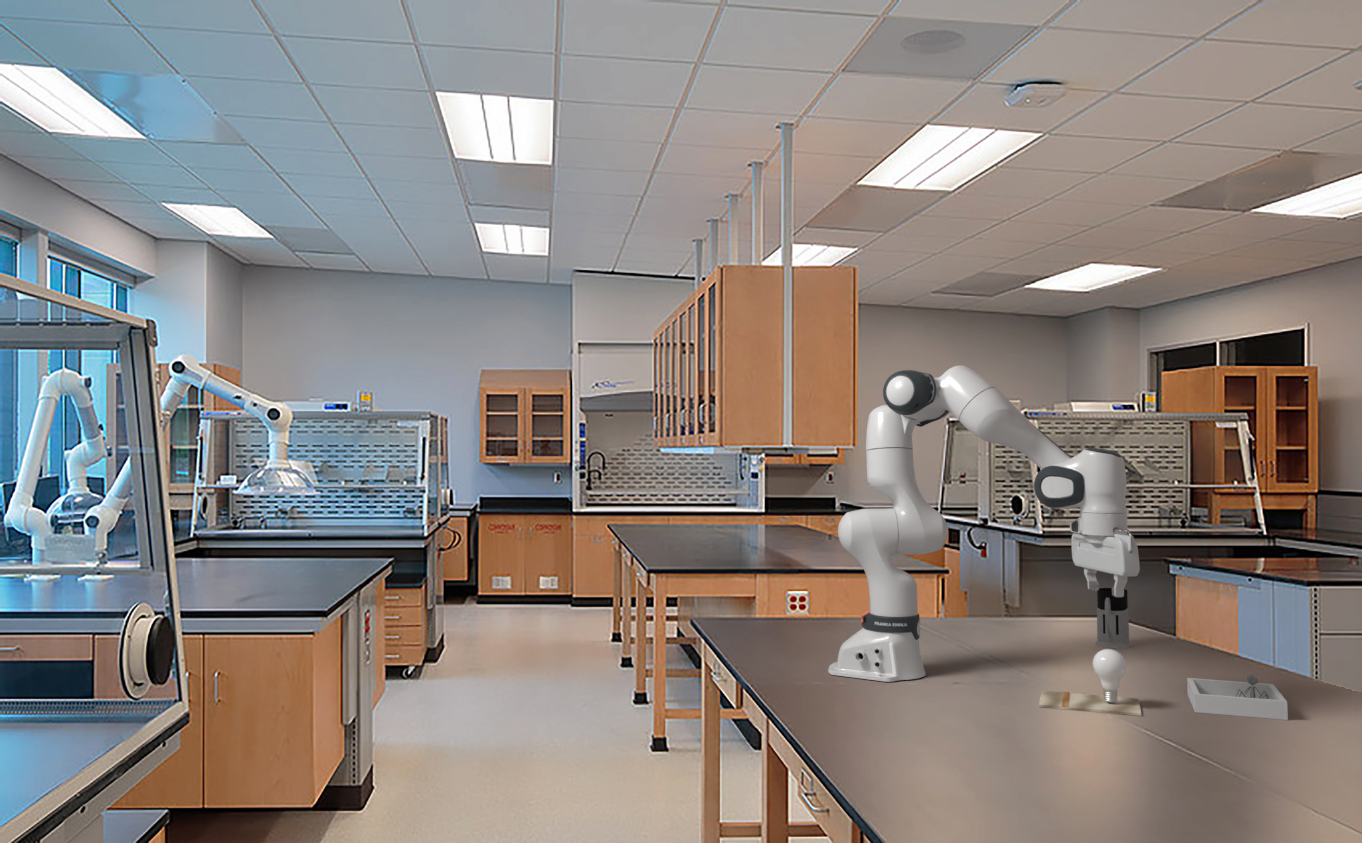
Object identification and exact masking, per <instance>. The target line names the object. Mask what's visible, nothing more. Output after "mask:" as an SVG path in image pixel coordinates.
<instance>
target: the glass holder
mask: <svg viewBox="0 0 1362 843" xmlns="http://www.w3.org/2000/svg"><path fill="white" fill-rule="evenodd" d="M1112 588H1113V587H1099V590H1098V591H1096V598H1097V599H1096V602H1097V605H1096V626H1097V628H1096V630H1097V636H1096V637H1097V638H1096V639H1097V640H1096V642H1095V646H1097V647H1101V648H1104V649H1115V650H1116V649H1118V650H1119V649H1121V650H1122V649H1130V648H1132V645H1131V643H1130V626H1129V625H1130V621H1129V620H1130V619H1129V617H1130V616H1129V614H1130V613H1129V606H1128V605H1129V603H1128V589H1125V588H1124V596H1123V597H1115V596H1113V595H1112Z"/></svg>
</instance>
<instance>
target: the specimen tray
mask: <svg viewBox="0 0 1362 843" xmlns="http://www.w3.org/2000/svg"><path fill="white" fill-rule="evenodd" d="M1186 681H1187V682H1186V684H1187V687H1186V688H1187V691H1186V692H1187V697H1188V699H1189V701H1190V703H1191V706H1192V708H1193V711H1194V713H1197V714H1198V713H1199V714H1210V715H1225V716H1235V717H1245V718H1246V717H1248V718H1258V719H1260V718H1261V719H1273V720H1281V721H1282V720H1285V721H1288V720H1289V718H1288V717H1289V714H1288V701H1287V699H1286V698H1285V697H1284V696H1283V694H1282V693H1281V692H1280V691H1279V690H1278V688H1277V687H1276V686H1275V684H1274V683H1262V682H1258V683H1257V684H1255V685H1253V686H1254V687H1256V688H1257V689H1256V688H1255V698H1250V690H1251V688H1250V689H1248V688H1249V687H1250V686H1251V687H1252V685H1251V684H1249V683H1248V681H1238V680H1237V681H1236V680H1235V681H1234V680H1222V679H1208V678H1197V677H1195V678H1194V677H1187V678H1186ZM1239 689H1240V690H1241V691H1242V693H1243V694H1244V695H1245V696H1246V697H1245V696H1244V695H1243V694H1242V693H1241V691H1240V690H1239ZM1247 689H1248V690H1249V691H1248V690H1247ZM1246 690H1247V691H1248V692H1247V691H1246ZM1257 690H1258V691H1259V692H1260V693H1259V692H1258V691H1257ZM1238 691H1239V692H1238ZM1245 691H1246V692H1245ZM1264 691H1265V692H1264ZM1263 692H1264V693H1263ZM1237 693H1238V694H1237ZM1240 693H1241V695H1240ZM1246 693H1247V694H1246ZM1262 693H1263V694H1262ZM1265 693H1266V694H1265ZM1260 694H1261V695H1262V696H1261V695H1260ZM1236 695H1237V696H1236ZM1266 695H1268V697H1269V699H1267V698H1268V697H1266ZM1239 696H1240V697H1239ZM1260 696H1261V697H1260ZM1259 697H1260V698H1259ZM1262 697H1263V698H1262ZM1261 698H1262V699H1261Z"/></svg>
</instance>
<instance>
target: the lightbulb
mask: <svg viewBox="0 0 1362 843" xmlns="http://www.w3.org/2000/svg"><path fill="white" fill-rule="evenodd" d="M1092 667H1093V671H1094V673H1095V674H1096V676H1097V677H1098V679H1099V681H1100V684H1101V687H1102V690H1103V693H1102V694H1103V696H1104V700H1105V701H1106V702H1108V703H1114V702H1116V701H1118V699H1117V698H1118V697H1119V696H1118V688H1119V686H1120V681H1121V679H1123V677H1124V676H1125V673H1126V670H1127V661H1126V659H1125V657H1124V656H1123V655H1122V654H1121V653H1120V652H1119V651H1118V650H1116V649H1113V648H1104V649H1101V650H1099V651H1098V652H1096V653H1095V654H1094V656H1093V658H1092Z"/></svg>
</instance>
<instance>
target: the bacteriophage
mask: <svg viewBox="0 0 1362 843" xmlns="http://www.w3.org/2000/svg"><path fill="white" fill-rule="evenodd" d="M1246 680H1247V681H1246V682H1248V683H1249V684H1251V685H1252V687H1251V686H1250V687H1249V688H1248V689H1250V688H1251V690H1250V698H1255V688H1256V687H1254V686H1253V685H1255V684H1257V683H1259V678H1258V676H1256V675H1254V674H1250V675H1247V676H1246ZM1248 689H1247V690H1248ZM1256 689H1257V688H1256ZM1239 690H1240V689H1239ZM1247 690H1246V691H1247ZM1240 691H1241V690H1240ZM1246 691H1245V692H1246ZM1248 691H1249V690H1248ZM1248 691H1247V692H1248ZM1257 691H1258V690H1257ZM1238 692H1239V691H1238ZM1258 692H1259V691H1258ZM1264 692H1265V691H1264ZM1264 692H1263V693H1264ZM1241 693H1242V691H1241ZM1241 693H1240V695H1241ZM1259 693H1260V692H1259ZM1263 693H1262V694H1263ZM1237 694H1238V693H1237ZM1242 694H1243V693H1242ZM1246 694H1247V693H1246ZM1265 694H1266V693H1265ZM1243 695H1244V694H1243ZM1260 695H1261V694H1260ZM1236 696H1237V695H1236ZM1244 696H1245V695H1244ZM1261 696H1262V695H1261ZM1261 696H1260V697H1261ZM1239 697H1240V696H1239ZM1245 697H1246V696H1245ZM1260 697H1259V698H1260ZM1266 697H1268V695H1266ZM1262 698H1263V697H1262ZM1262 698H1261V699H1262ZM1267 699H1269V697H1268V698H1267Z"/></svg>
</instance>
